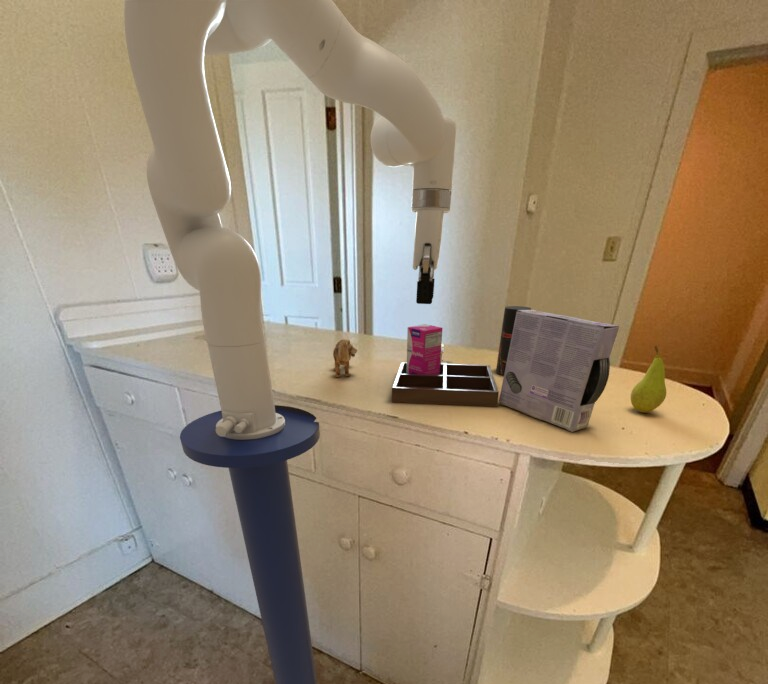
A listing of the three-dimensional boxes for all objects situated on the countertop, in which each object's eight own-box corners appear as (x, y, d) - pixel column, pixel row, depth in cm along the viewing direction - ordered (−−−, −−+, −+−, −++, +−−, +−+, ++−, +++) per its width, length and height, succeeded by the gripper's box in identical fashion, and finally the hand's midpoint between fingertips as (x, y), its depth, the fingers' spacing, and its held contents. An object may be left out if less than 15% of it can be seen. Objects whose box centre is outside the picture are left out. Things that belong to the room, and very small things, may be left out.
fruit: (655, 419, 80) (679, 353, 74) (622, 412, 83) (642, 348, 77) (662, 411, 84) (685, 347, 77) (630, 405, 87) (650, 343, 81)
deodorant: (513, 369, 111) (523, 305, 103) (524, 375, 106) (535, 309, 98) (491, 370, 110) (500, 306, 102) (502, 376, 105) (512, 309, 97)
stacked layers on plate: (447, 362, 116) (449, 341, 113) (448, 371, 109) (450, 348, 106) (411, 361, 117) (412, 340, 114) (409, 370, 110) (410, 347, 107)
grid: (496, 406, 86) (498, 392, 84) (391, 402, 88) (391, 387, 87) (488, 377, 104) (489, 365, 102) (401, 374, 106) (401, 362, 104)
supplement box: (405, 378, 101) (406, 326, 94) (423, 374, 104) (425, 323, 98) (422, 383, 97) (424, 330, 91) (440, 379, 100) (444, 327, 94)
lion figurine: (359, 379, 102) (358, 340, 97) (337, 381, 101) (335, 341, 96) (347, 364, 114) (345, 329, 109) (327, 366, 113) (325, 329, 108)
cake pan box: (595, 429, 76) (626, 322, 66) (577, 435, 74) (607, 325, 64) (513, 400, 90) (530, 308, 80) (496, 404, 87) (511, 310, 78)
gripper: (414, 206, 90) (410, 296, 99) (408, 198, 75) (404, 305, 84) (450, 206, 89) (442, 297, 98) (450, 199, 75) (442, 306, 84)
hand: (425, 301), depth 91 cm, fingers open, 9 cm apart
